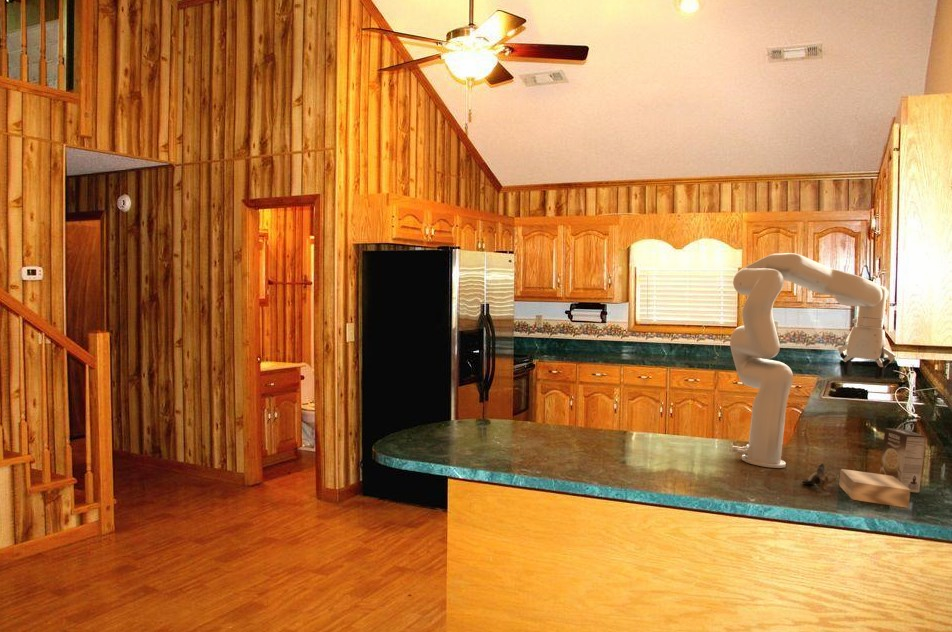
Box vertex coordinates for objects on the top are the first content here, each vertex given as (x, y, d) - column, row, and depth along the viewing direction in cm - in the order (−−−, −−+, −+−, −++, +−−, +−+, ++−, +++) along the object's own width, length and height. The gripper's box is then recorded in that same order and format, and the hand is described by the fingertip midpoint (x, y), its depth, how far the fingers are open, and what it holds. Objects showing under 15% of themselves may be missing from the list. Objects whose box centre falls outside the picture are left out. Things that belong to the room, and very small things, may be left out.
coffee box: (877, 482, 205) (883, 427, 204) (897, 483, 206) (904, 428, 205) (899, 491, 196) (905, 434, 195) (920, 493, 197) (927, 435, 196)
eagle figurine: (843, 490, 187) (829, 475, 196) (832, 468, 186) (818, 454, 194) (815, 502, 188) (803, 487, 197) (804, 480, 187) (792, 465, 196)
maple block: (851, 500, 183) (854, 481, 183) (838, 486, 197) (840, 468, 197) (908, 509, 179) (910, 489, 179) (890, 493, 194) (892, 475, 194)
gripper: (836, 320, 231) (830, 372, 232) (892, 326, 217) (886, 381, 218) (847, 321, 236) (841, 372, 236) (903, 327, 222) (896, 381, 222)
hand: (862, 376), depth 227 cm, fingers open, 9 cm apart
